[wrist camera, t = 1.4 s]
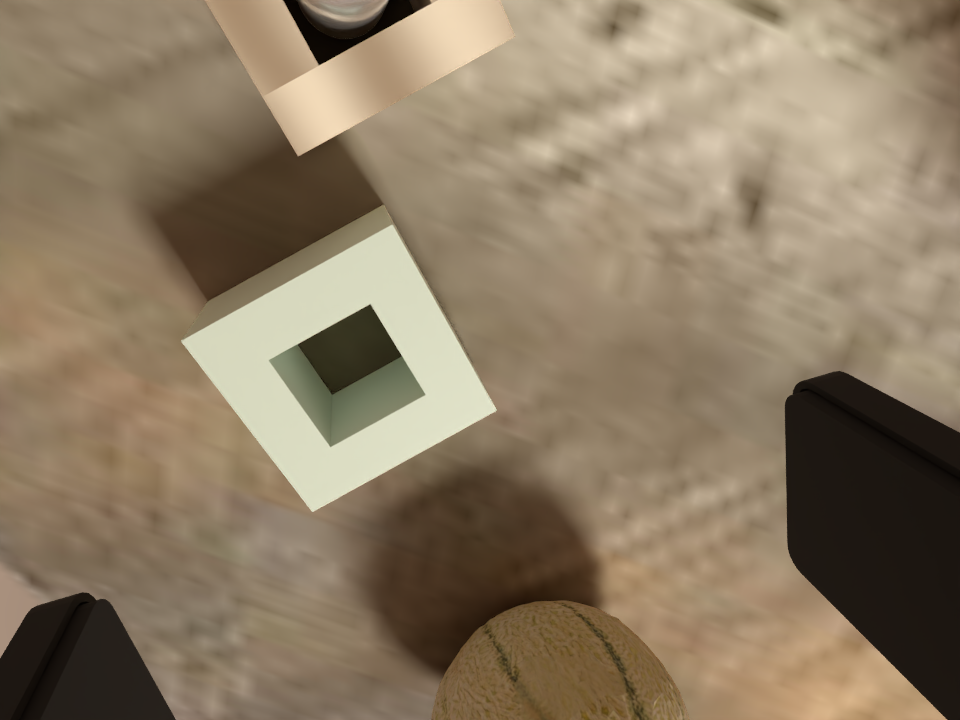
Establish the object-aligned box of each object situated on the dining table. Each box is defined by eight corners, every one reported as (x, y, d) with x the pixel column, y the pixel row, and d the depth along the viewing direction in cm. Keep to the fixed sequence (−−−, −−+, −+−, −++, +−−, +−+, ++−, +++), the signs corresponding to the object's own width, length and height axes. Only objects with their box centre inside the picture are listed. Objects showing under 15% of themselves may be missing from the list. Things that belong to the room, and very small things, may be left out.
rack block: (383, 204, 33) (392, 224, 27) (473, 364, 37) (496, 410, 31) (207, 301, 33) (180, 341, 27) (316, 451, 37) (312, 512, 31)
